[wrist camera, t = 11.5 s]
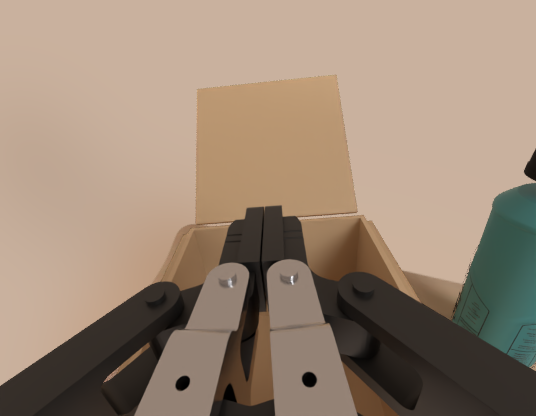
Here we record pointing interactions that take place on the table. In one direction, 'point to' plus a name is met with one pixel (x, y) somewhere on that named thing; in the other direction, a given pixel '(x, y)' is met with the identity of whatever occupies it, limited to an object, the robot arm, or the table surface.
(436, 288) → the table surface
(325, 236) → the carton
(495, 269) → the beverage bottle
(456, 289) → the table surface
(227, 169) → the carton flap
